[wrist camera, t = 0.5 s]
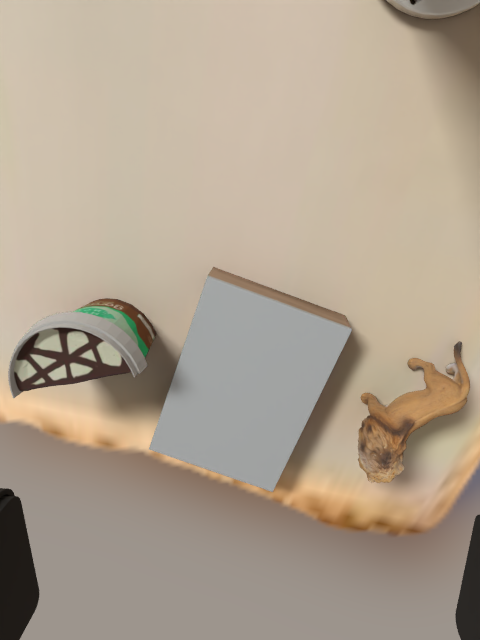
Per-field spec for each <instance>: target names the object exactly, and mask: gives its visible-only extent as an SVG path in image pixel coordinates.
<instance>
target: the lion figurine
mask: <svg viewBox="0 0 480 640" xmlns="http://www.w3.org/2000/svg"><path fill="white" fill-rule="evenodd" d="M461 346H462V342H460V341H459V342H458V343H457V344H456V345H455V346H454V357H455V360H456V363H457V364H456V363H452V364H449V365H448V366H447V367H446V372H447V373H448V374H455V375H454V377H453V379H451V378H449V377H447V376H445V375H443V374H441V373H439V372H438V371H436V370H435V367H434V364H432V363H429V362H425V361H423V360H421V359H418V358H412V359H410V360H409V361H408V366H409V367H410V368H411V369H412V370H415V369H417V368H420V367H421V368H423V369H424V381H425V383H426V386H427V387H426V389H424V390H421V391H414V392H409V393H406V394H404V395H402V396H400V397H398V398H396V399H395V400H394V401H393V402H392V403H391V404H389V405H385V406H383V405H381V404H379V402H378V401H377V398H376V397H375V396H373V395H372V394H370V393H364V394H362V396H361V400H362V402H363V403H365V404H368V410H369V413H370V416H368V417H367V418H366V419H364V420H363V421H362V427H361V428H360V429H359V439H358V442H359V443H358V452H359V459H358V461H359V466H360V467H361V468H362V469H363V470H364V471H365V472H366V474H367V478H368V480H369V482H371V483H372V482H375V481H376V482H377V483H380V482H384V483H385V482H388V483H389V482H391V481H392V479H394V478H395V476H396V475H400V473H401V472H402V471H403V470H404V466H403V464H402V461H403V452H404V450H405V449H406V440H407V439H408V437H409V435H410V434H411V433H412V432H413V431H415V430H416V429H418V428H420V427H422V426H423V425H425V424H426V423H428V422H429V421H430V420H432V419H434V418H436V417H439V416H443V415H449V414H452V413H455V412H457V411H459V410H460V409H461V408H462V407H463V406H464V405H465V404H466V402H467V395H468V393H469V389H470V381H469V377H468V374H467V372H466V369H465V367H464V365H463V363H462V361H461V356H460V351H461Z"/></svg>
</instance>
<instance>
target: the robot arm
mask: <svg viewBox="0 0 480 640" xmlns="http://www.w3.org/2000/svg"><path fill="white" fill-rule="evenodd" d="M386 1H387V2H389V3H390V4H391V5H392V6H394V7H395V8H396V9H398V10H400V11H402V12H404V13H406V14H408V15H410V16H415V17H420V18H424V19H441V18H446V17H450V16H454V15H458V14H460V13H462V12H465V11H467V10H469V9H471V8H473V7H475V6H476V5H478V4H479V3H480V0H415V5H412V4H411V3H410V0H386ZM38 600H39V587H38V582H37V578H36V573H35V568H34V563H33V558H32V553H31V548H30V544H29V539H28V534H27V529H26V524H25V519H24V514H23V509H22V504H21V501H20V498H19V497H16V496H14V493H13V491H12V490H11V489H2V488H0V640H19V639H20V637H21V635H22V634H23V632H24V630H25V628H26V626H27V624H28V623H29V621H30V619H31V617H32V615H33V613H34V612H35V609H36V607H37V604H38ZM456 624H457V629H458V633H459V635H460V638H461V640H480V515H477V516H476V518H475V522H474V527H473V531H472V536H471V541H470V546H469V551H468V556H467V561H466V565H465V570H464V575H463V580H462V585H461V590H460V595H459V599H458V604H457V609H456Z"/></svg>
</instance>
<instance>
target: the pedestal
mask: <svg viewBox="0 0 480 640" xmlns="http://www.w3.org/2000/svg"><path fill="white" fill-rule="evenodd" d="M351 331H352V329H351V327H350V325H349V323H348V321H347V319H346V317H345V315H342V314H339V313H337V312H334V311H331V310H328V309H326V308H323V307H320V306H318V305H315V304H312V303H309V302H307V301H304V300H301V299H299V298H296V297H293V296H290V295H288V294H285V293H282V292H280V291H277V290H274V289H272V288H269V287H266V286H263V285H261V284H258V283H255V282H253V281H250V280H247V279H244V278H242V277H239V276H236V275H234V274H231V273H228V272H225V271H223V270H220V269H217V268H215V267H213V269H212V270H211V272H210V273H209V275H208V276H207V279H206V282H205V285H204V288H203V291H202V294H201V297H200V300H199V303H198V306H197V309H196V312H195V315H194V318H193V320H192V323H191V326H190V329H189V332H188V335H187V338H186V341H185V344H184V347H183V350H182V353H181V356H180V359H179V362H178V365H177V368H176V371H175V374H174V377H173V380H172V383H171V385H170V388H169V391H168V394H167V397H166V400H165V403H164V406H163V409H162V412H161V415H160V418H159V421H158V424H157V427H156V430H155V433H154V436H153V439H152V442H151V445H150V448H149V449H150V450H153V451H155V452H158V453H161V454H164V455H167V456H170V457H173V458H176V459H179V460H181V461H184V462H187V463H190V464H193V465H196V466H199V467H202V468H205V469H208V470H210V471H213V472H216V473H219V474H222V475H225V476H228V477H231V478H234V479H237V480H239V481H242V482H245V483H248V484H251V485H254V486H257V487H260V488H263V489H265V490H268V491H271V492H273V490H274V488H275V486H276V484H277V482H278V480H279V478H280V476H281V474H282V472H283V470H284V468H285V466H286V463H287V461H288V459H289V457H290V455H291V453H292V451H293V449H294V447H295V445H296V443H297V441H298V439H299V437H300V435H301V433H302V431H303V429H304V427H305V425H306V423H307V421H308V419H309V417H310V415H311V412H312V410H313V408H314V406H315V404H316V402H317V400H318V398H319V396H320V394H321V392H322V390H323V388H324V386H325V384H326V382H327V380H328V378H329V376H330V374H331V372H332V370H333V368H334V366H335V364H336V361H337V359H338V357H339V355H340V353H341V351H342V349H343V347H344V345H345V343H346V341H347V339H348V337H349V335H350V333H351Z"/></svg>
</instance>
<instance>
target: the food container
mask: <svg viewBox="0 0 480 640" xmlns="http://www.w3.org/2000/svg"><path fill="white" fill-rule="evenodd" d="M155 336H156V334H155V331H154V329H153V326H152V325H151V323H150V322H149V321H148V319H147V318H146V317H145V315H144V314H143V313H142V312H141V311H139V310H138V309H137V308H135V307H134V306H133V305H131V304H129V303H126V302H123V301H121V300H118V299H99V300H96V301H93V302H91V303H89V304H87V305H85V306H83V307H81V308H79V309H77V310H75V311H74V312H63V313H57V314H54V315H50V316H48V317H46V318H44V319H42V320H40V321H38V322H37V323H36V324H34V325H33V326H32V327H31V328H30V329H29V330H28V331H27V332H26V334H25V335H24V336H23V337H22V339H21V340H20V341H19V343H18V344H17V346H16V348H15V350H14V352H13V355H12V358H11V361H10V365H9V372H8V373H9V385H10V390H11V393H12V396H13V398H15V397H16V396H17V395H19V394H20V393H21V392H23V391H29V390H32V389H36V388H42V387H49V386H56V385H66V384H75V383H79V382H84V381H88V380H92V379H97V378H101V377H106V376H112V375H118V374H124V373H129V372H132V374H133V376H134V377H136V375H137V374H139V373H141V372H142V371H143V370H144V369H145V368H146V367H147V366H148V365H147V362H146V360H145V357H146V355H147V353H148V351H149V349H150V347H151V345H152V342H153V340H154V338H155Z"/></svg>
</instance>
